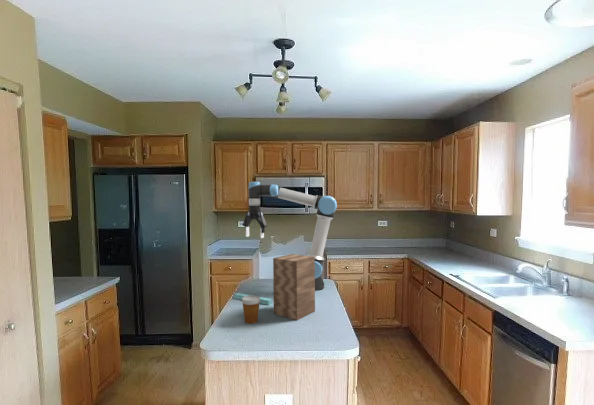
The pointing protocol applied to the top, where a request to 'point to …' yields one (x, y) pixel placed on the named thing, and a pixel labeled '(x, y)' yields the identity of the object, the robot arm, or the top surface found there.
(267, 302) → the bar
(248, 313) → the disposable coffee cup
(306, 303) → the stand
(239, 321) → the top surface
